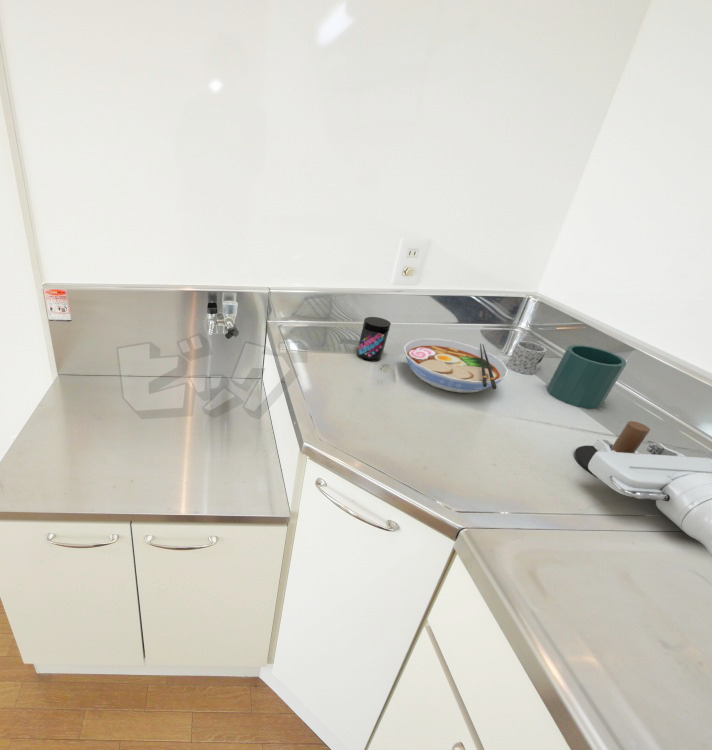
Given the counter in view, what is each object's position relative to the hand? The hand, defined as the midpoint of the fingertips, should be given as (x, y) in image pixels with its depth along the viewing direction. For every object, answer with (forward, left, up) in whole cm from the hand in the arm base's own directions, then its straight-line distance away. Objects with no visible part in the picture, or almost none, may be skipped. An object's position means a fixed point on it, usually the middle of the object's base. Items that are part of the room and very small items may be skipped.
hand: (625, 444), depth 77 cm
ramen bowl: (+25, -24, -6) cm, 35 cm away
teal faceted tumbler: (-3, -26, -6) cm, 27 cm away
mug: (+3, -43, -6) cm, 43 cm away
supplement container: (+43, -33, -6) cm, 54 cm away
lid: (0, 0, -5) cm, 5 cm away
